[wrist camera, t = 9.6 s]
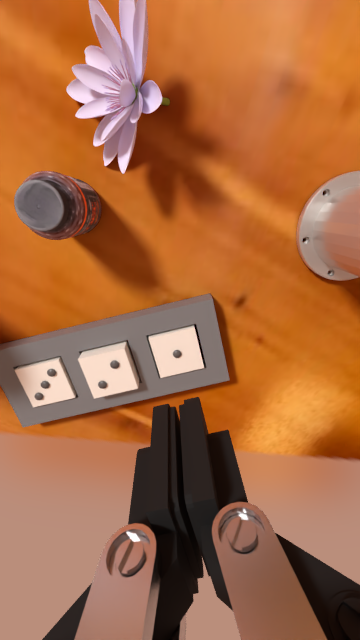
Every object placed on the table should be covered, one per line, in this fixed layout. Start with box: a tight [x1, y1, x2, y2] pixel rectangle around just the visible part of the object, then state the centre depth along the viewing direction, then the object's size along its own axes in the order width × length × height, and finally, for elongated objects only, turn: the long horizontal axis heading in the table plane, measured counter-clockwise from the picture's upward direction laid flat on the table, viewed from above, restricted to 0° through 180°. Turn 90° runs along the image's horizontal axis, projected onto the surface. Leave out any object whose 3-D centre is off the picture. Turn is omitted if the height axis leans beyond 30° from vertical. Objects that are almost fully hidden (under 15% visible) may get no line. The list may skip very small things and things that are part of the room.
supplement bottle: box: [14, 171, 102, 240], centre depth 30 cm, size 6×6×11 cm
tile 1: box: [149, 324, 204, 378], centre depth 40 cm, size 6×6×3 cm
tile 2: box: [78, 340, 140, 399], centre depth 39 cm, size 6×6×3 cm
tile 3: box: [15, 356, 77, 407], centre depth 41 cm, size 6×6×3 cm
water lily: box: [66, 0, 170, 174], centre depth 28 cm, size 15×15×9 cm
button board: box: [0, 294, 230, 427], centre depth 41 cm, size 30×12×2 cm, turn 104°
